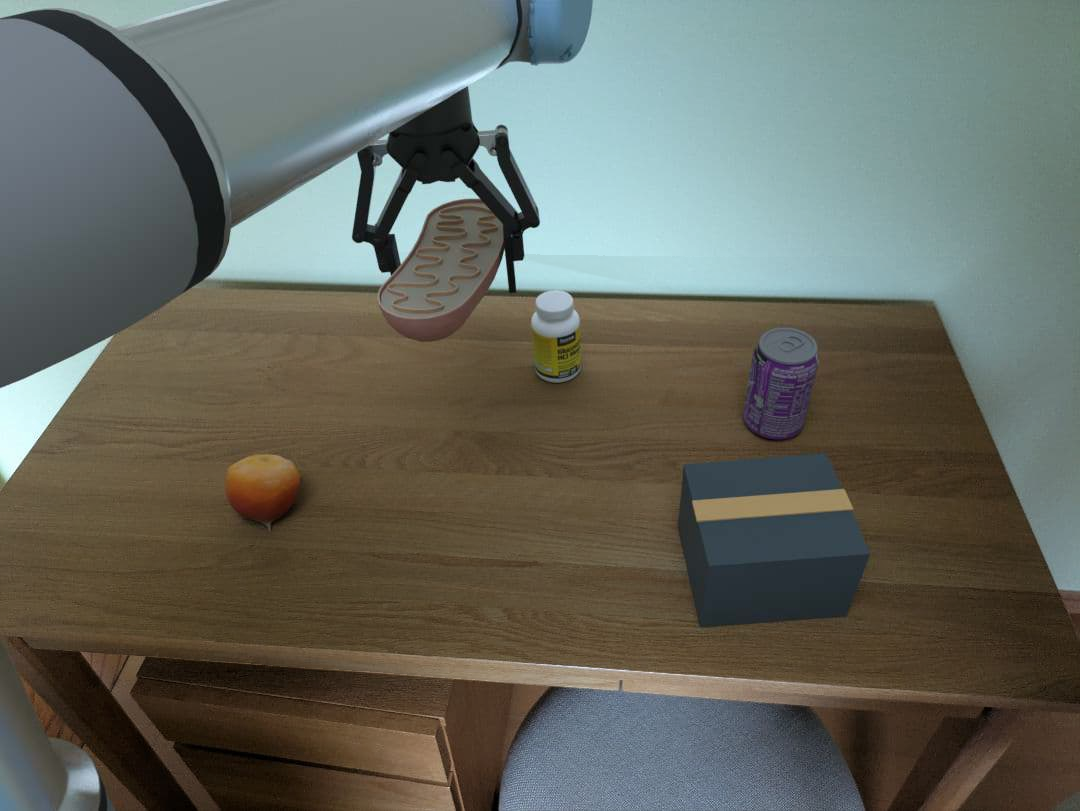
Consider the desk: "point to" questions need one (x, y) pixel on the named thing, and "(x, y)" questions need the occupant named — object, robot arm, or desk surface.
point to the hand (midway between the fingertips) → (457, 290)
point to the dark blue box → (769, 540)
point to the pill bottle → (556, 337)
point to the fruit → (262, 487)
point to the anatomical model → (444, 271)
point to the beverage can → (781, 383)
